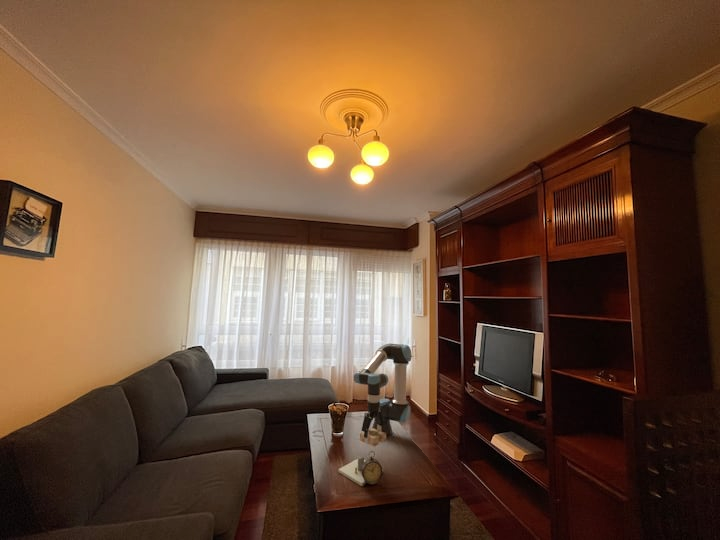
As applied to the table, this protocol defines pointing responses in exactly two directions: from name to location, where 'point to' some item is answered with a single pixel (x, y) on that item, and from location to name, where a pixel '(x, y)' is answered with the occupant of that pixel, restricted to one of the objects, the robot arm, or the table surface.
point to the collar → (374, 437)
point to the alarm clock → (371, 471)
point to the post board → (354, 471)
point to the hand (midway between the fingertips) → (372, 440)
